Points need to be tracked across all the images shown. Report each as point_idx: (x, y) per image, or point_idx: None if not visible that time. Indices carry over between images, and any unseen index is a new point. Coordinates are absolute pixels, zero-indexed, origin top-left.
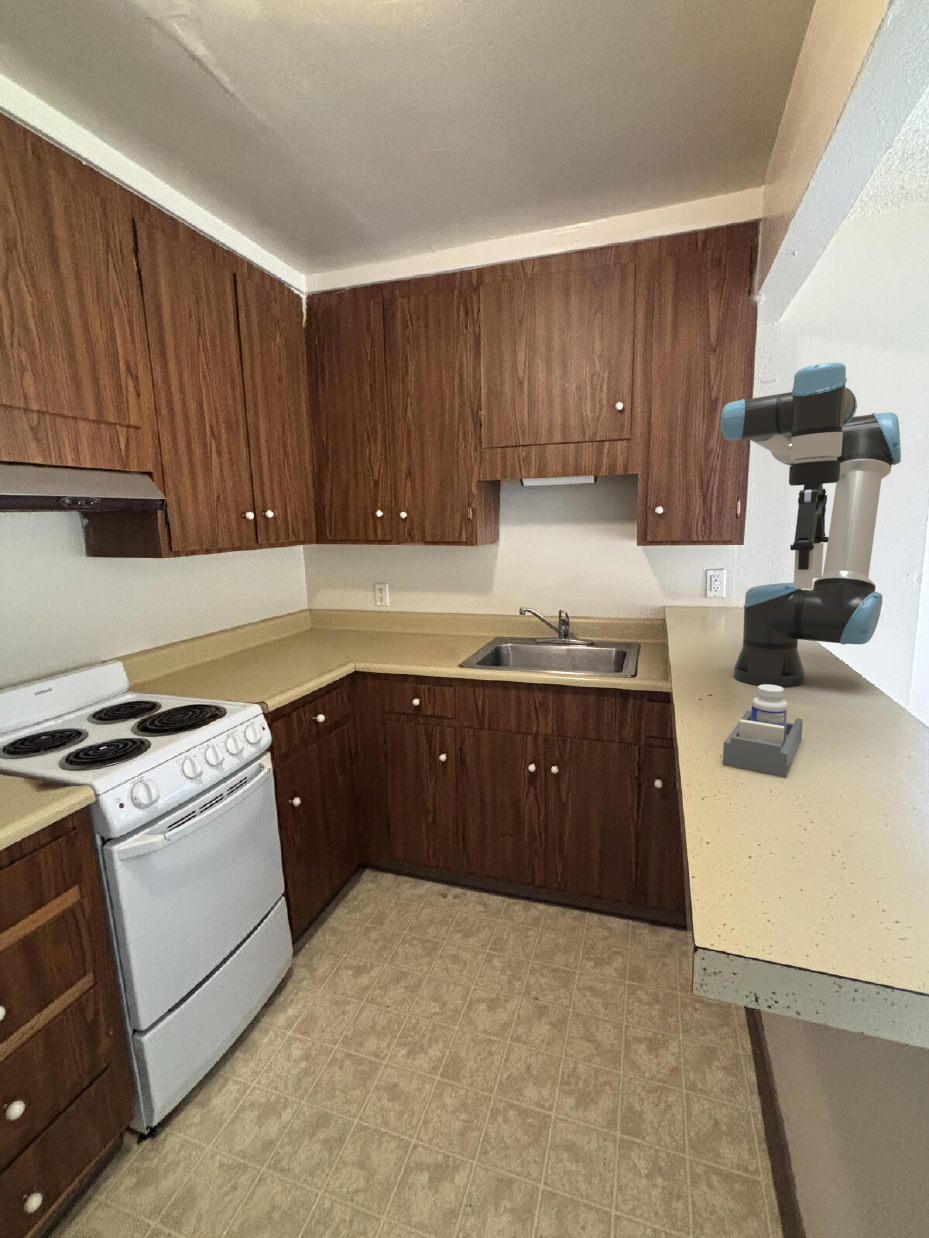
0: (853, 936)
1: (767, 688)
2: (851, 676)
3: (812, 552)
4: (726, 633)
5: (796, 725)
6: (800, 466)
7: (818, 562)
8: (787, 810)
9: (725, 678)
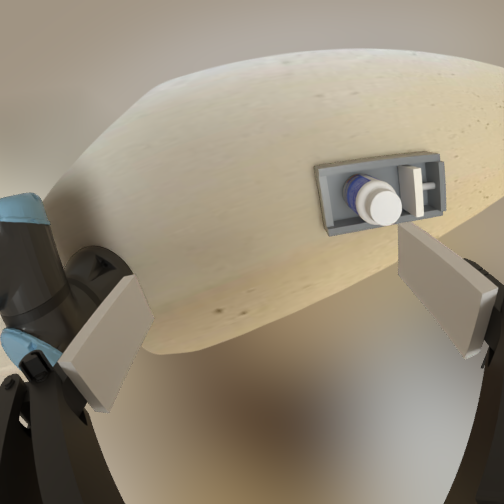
0: None
1: (394, 210)
2: None
3: (489, 288)
4: None
5: (349, 168)
6: None
7: (116, 317)
8: (474, 138)
9: None
